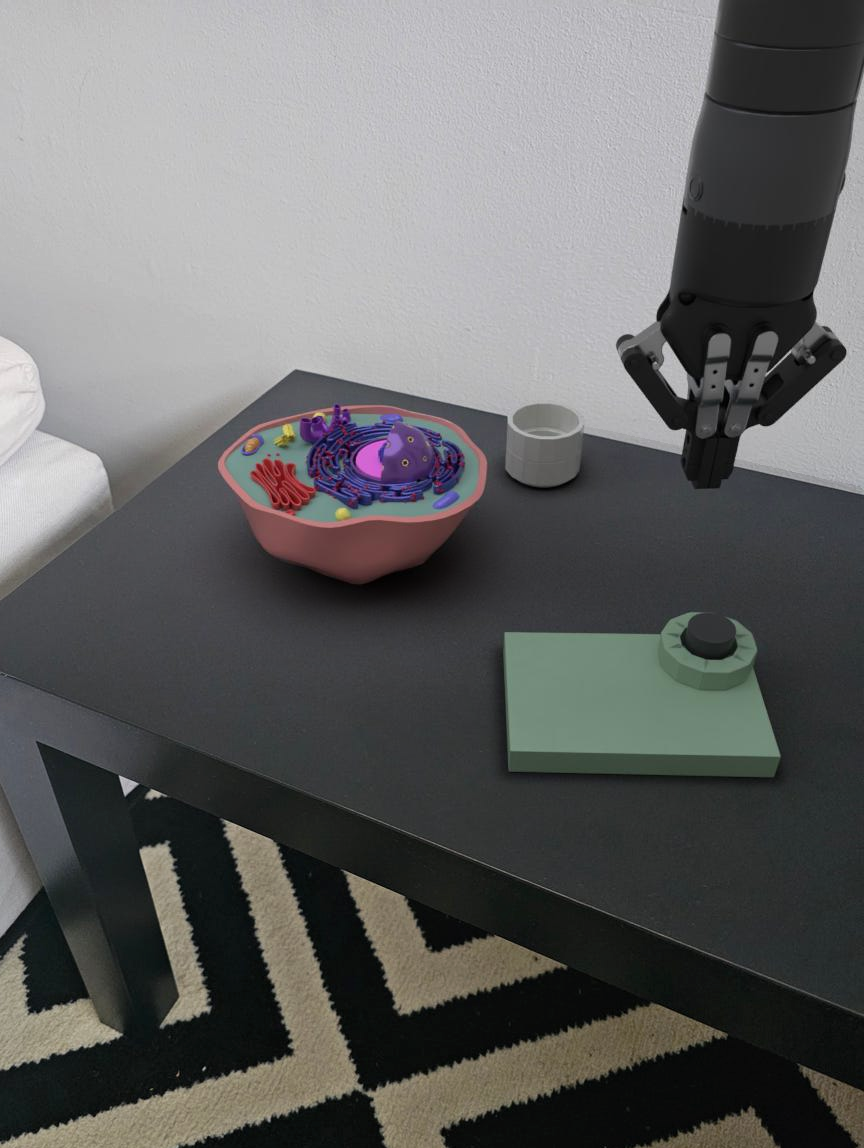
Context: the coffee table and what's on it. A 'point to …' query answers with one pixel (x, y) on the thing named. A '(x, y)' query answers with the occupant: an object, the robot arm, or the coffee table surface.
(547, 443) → the white cup
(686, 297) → the robot arm
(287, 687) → the coffee table surface
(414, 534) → the cell model
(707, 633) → the button
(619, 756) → the scale
